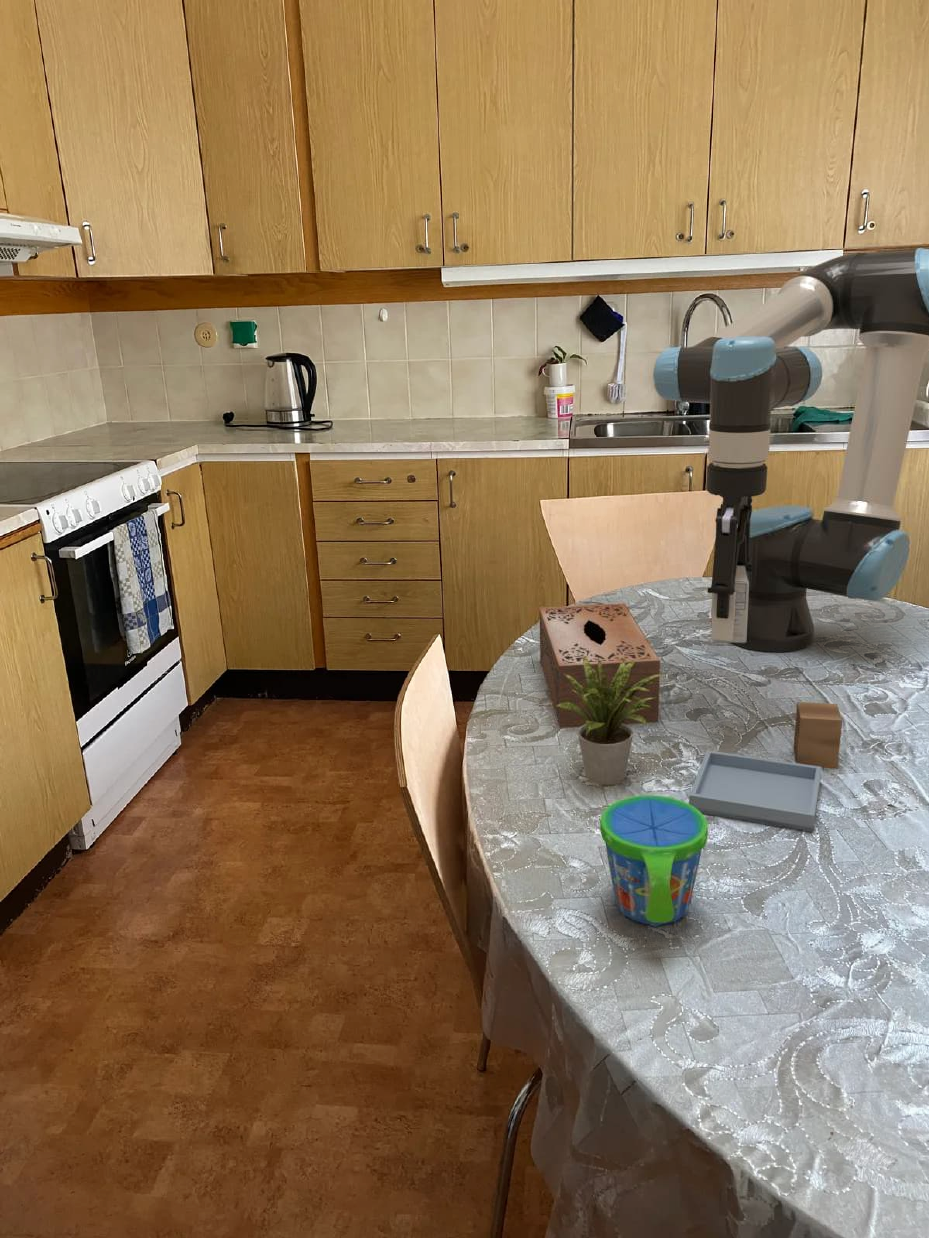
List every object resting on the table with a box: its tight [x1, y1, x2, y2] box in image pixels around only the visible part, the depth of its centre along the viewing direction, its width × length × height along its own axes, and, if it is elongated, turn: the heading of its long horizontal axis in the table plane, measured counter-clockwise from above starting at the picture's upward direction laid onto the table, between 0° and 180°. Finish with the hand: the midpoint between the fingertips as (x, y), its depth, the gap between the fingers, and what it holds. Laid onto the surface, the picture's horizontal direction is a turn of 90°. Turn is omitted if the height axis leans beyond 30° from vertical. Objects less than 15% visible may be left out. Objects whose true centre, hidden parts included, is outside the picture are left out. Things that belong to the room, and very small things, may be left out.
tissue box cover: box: [538, 602, 661, 729], centre depth 147 cm, size 26×14×10 cm, turn 2°
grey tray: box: [688, 749, 823, 833], centre depth 116 cm, size 12×14×2 cm
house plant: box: [557, 657, 668, 786], centre depth 119 cm, size 14×14×16 cm
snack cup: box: [599, 794, 709, 927], centre depth 95 cm, size 16×10×10 cm
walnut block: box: [792, 701, 843, 770], centre depth 124 cm, size 5×5×7 cm
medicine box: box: [710, 565, 749, 644], centre depth 127 cm, size 8×4×9 cm, turn 168°
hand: (728, 627), depth 128 cm, fingers closed on medicine box, 8 cm apart
